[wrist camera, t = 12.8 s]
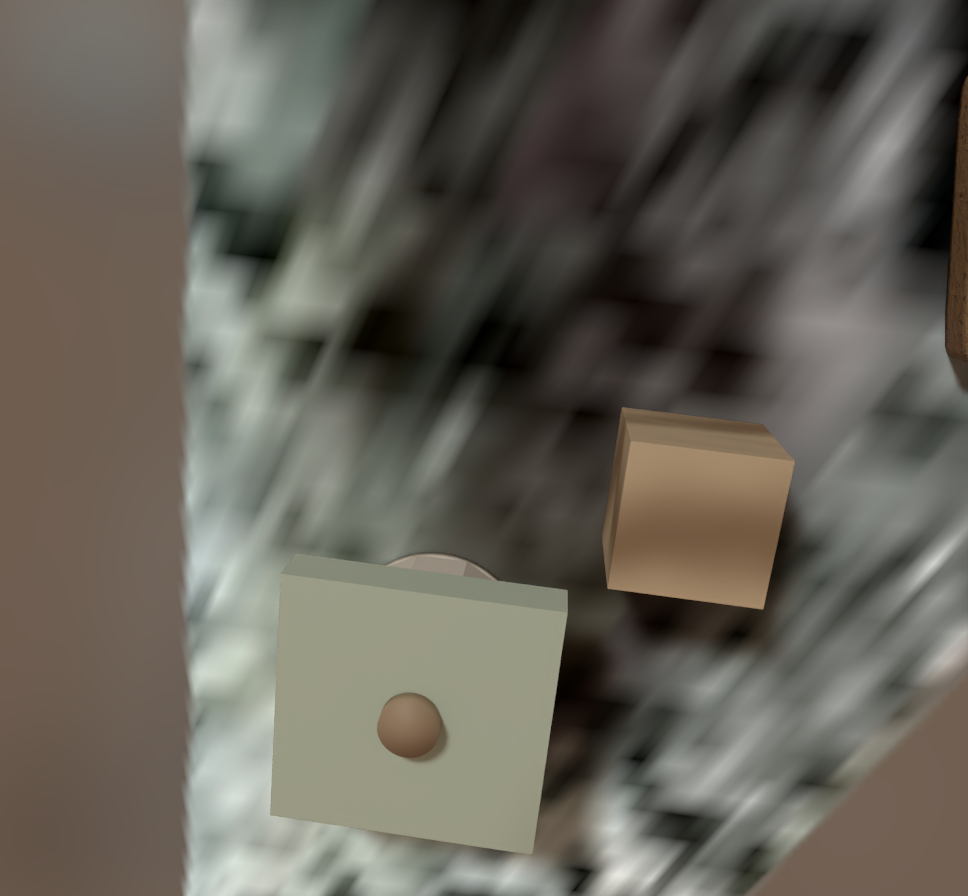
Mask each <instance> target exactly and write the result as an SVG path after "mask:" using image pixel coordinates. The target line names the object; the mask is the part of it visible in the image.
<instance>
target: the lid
mask: <svg viewBox="0 0 968 896" xmlns="http://www.w3.org/2000/svg"><path fill="white" fill-rule="evenodd" d="M567 613H568V599H567V590H562V589H555V588H548V587H540V586H533V585H525V584H518V583H510V582H503V581H496V580H488V579H481V578H473V577H466V576H458V575H451V574H444V573H436V572H429V571H421V570H414V569H407V568H399V567H392V566H384V565H377V564H369V563H362V562H355V561H347V560H340V559H332V558H325V557H317V556H310V555H303V554H295V556H294V557H293V558H292V560H291V561H290V562H289V564H288V565H287V566H286V568H285V569H284V570H283V572H282V573H281V581H280V604H279V627H278V650H277V672H276V695H275V718H274V741H273V764H272V787H271V809H270V815H273V816H279V817H286V818H292V819H299V820H306V821H312V822H319V823H325V824H332V825H338V826H345V827H351V828H358V829H365V830H371V831H378V832H384V833H391V834H397V835H404V836H411V837H417V838H424V839H430V840H437V841H443V842H450V843H457V844H463V845H470V846H476V847H483V848H489V849H496V850H503V851H509V852H516V853H522V854H529V855H533V848H534V841H535V834H536V827H537V820H538V813H539V806H540V799H541V792H542V786H543V779H544V772H545V765H546V758H547V751H548V744H549V737H550V730H551V723H552V717H553V710H554V703H555V696H556V689H557V682H558V675H559V668H560V661H561V655H562V648H563V641H564V634H565V627H566V620H567Z"/></svg>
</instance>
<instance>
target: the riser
mask: <svg viewBox="0 0 968 896" xmlns="http://www.w3.org/2000/svg"><path fill="white" fill-rule="evenodd" d="M794 463H795V461H794V460H793V459H792V457H791V456H790V455H789V454H788V453H787V452H786V451H785V449H784V448H783V447H782V446H781V445H780V444H779V442H778V441H777V440H776V439H775V438H774V437H773V436H772V434H771V433H770V432H769V431H768V430H767V429H766V427H765V426H764V425H763V424H755V423H747V422H739V421H731V420H723V419H715V418H706V417H698V416H690V415H682V414H674V413H666V412H657V411H649V410H641V409H633V408H625V407H622V410H621V416H620V423H619V429H618V436H617V443H616V449H615V456H614V462H613V469H612V475H611V482H610V488H609V495H608V501H607V508H606V514H605V521H604V527H603V534H602V540H603V550H604V559H605V569H606V579H607V588H608V589H614V590H622V591H629V592H637V593H644V594H651V595H659V596H666V597H674V598H681V599H689V600H696V601H704V602H711V603H718V604H726V605H733V606H741V607H748V608H756V609H763V608H764V604H765V599H766V594H767V590H768V585H769V580H770V576H771V571H772V566H773V562H774V557H775V552H776V548H777V543H778V538H779V533H780V529H781V524H782V519H783V515H784V510H785V505H786V501H787V496H788V491H789V487H790V482H791V477H792V473H793V468H794Z"/></svg>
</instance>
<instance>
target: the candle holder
mask: <svg viewBox="0 0 968 896" xmlns="http://www.w3.org/2000/svg"><path fill="white" fill-rule="evenodd" d="M945 347H946V350H947V353H948V355H950V356H953V357H956V358H958V359H961V360H964V361H967V362H968V76H967V77H965V79H964V82H963V84H962V87H961V93H960V102H959V111H958V120H957V130H956V146H955V163H954V179H953V196H952V212H951V229H950V245H949V261H948V278H947V294H946V311H945Z"/></svg>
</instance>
